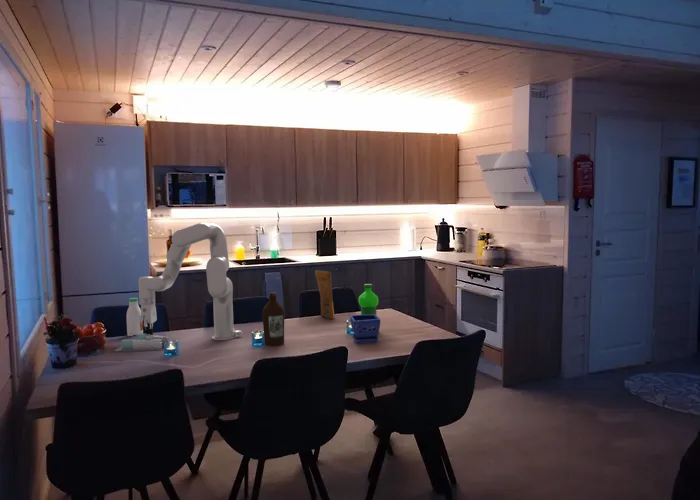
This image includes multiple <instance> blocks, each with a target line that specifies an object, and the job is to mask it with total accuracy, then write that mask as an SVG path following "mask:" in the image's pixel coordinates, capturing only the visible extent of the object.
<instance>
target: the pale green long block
mask: <svg viewBox="0 0 700 500" xmlns="http://www.w3.org/2000/svg"><path fill="white" fill-rule="evenodd" d="M168 337H169V336H166V337H163V342H164V343H165V342H168ZM163 342H162V339H143V340H138V339H134V338H133V339H122V340H121V342H120V343H121V346H122V350H131V349H163Z"/></svg>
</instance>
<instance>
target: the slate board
mask: <svg viewBox="0 0 700 500" xmlns="http://www.w3.org/2000/svg"><path fill="white" fill-rule="evenodd" d="M173 340H178V343H179V342H180V341H181V340H182V338H177V339H176V338H175V339H173ZM161 350H164V346H163V349H131V350H122V345H121V346H120V347H118V348H116V349H114V352H130V351H131V352H133V351H135V352H136V351H161Z"/></svg>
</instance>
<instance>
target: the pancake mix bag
mask: <svg viewBox="0 0 700 500" xmlns="http://www.w3.org/2000/svg"><path fill="white" fill-rule="evenodd" d="M314 275H315V278H316V281H317V286H318V289H319V295H320V296H319V297H320V316H321V317H323V318H325V319H331V320H332V319H334V318H335V310H334V308H335V307H334V300H333V287H332V272H330V271H327V270H318V269H316V270H315V271H314Z"/></svg>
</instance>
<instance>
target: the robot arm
mask: <svg viewBox="0 0 700 500" xmlns="http://www.w3.org/2000/svg"><path fill="white" fill-rule="evenodd" d="M206 240H209V252H210V253H209V254H210V258H209V260H208V261H207V263H206V265H205V266H206V267H205V271H206V281H207V283H206V285H207V290H208V293H209V295H211V297H212V300H213V301H212V302H213V303H212V304H213V326H214V327H213V328H214V330H213V331H214V335H212V336H211V340H215V341H227V340H233V339H235V338H237V337H238V336H241V335H242V336H243V330H236V328H234V310H233V309H234V307H233V306H234V304H233V301H234V300H233V296H234V295H233V293H234V291H233V290H234V286H233V282H232V280H231V279H230V278H229V277H227V272H228V270H229V269H230V260H229V250H228V242H227V236H226V233H225V231H224V230H223V228H222V227H220V225H218V224H216V223H213V222H211V221H205V222H199V223H196V224H193V225H190V226H187V227H184V228H181V229H179V230H176V231H175V232H173V234H172V236H171V242H172V243H171V245H170V248H169V249H168V250H167V253H166V265H165V268H164V270H163V272H162V274H161V275H158V276H155V277H154V276H150V275H148V276H147V275H146V276H145V275H144V276H140V277H139V278H138V297H139V298H138V300H139V305H140V310H141V322H142V324H143V328H144V329H145V334H150V335H154V332H153V331H154V328H153V327H154V323H155V322H156V321H157V320H158V319H157V317H158V316H157V307H156V292H164V291H166V290H167V289H168V290H169V288H171V287H172V286H173V284H174V283H175V281H176V279H177V277H178V275H179V273H180V271H181V269H182V265H183V262H184V260H185V258H186V256H187V254H188V252H189V250H190V248H191V246H192V245H193V244H196V243H199V242H202V241H206Z"/></svg>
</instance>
